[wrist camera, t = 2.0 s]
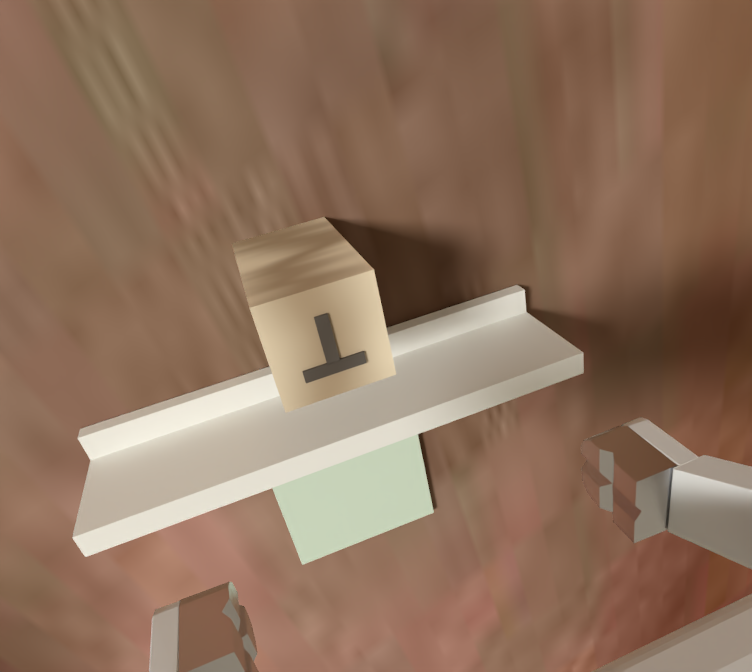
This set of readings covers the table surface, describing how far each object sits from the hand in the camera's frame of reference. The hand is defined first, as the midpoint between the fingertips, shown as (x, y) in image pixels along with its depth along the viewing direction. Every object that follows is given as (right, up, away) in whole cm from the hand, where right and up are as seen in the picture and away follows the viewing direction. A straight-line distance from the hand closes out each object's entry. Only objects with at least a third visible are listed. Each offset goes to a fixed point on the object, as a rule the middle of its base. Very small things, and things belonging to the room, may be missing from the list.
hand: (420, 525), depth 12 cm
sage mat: (-2, -5, +22) cm, 22 cm away
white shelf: (-4, +2, +18) cm, 19 cm away
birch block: (-5, +7, +15) cm, 18 cm away
